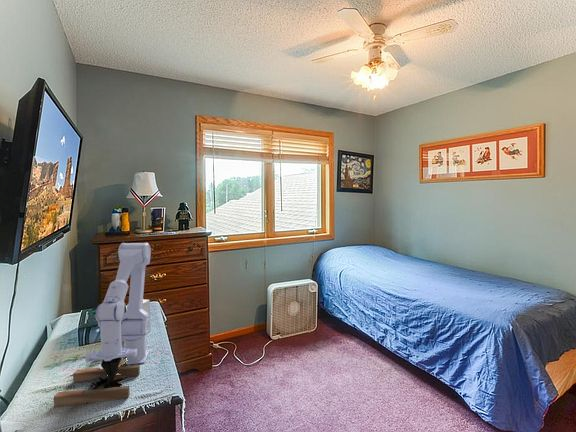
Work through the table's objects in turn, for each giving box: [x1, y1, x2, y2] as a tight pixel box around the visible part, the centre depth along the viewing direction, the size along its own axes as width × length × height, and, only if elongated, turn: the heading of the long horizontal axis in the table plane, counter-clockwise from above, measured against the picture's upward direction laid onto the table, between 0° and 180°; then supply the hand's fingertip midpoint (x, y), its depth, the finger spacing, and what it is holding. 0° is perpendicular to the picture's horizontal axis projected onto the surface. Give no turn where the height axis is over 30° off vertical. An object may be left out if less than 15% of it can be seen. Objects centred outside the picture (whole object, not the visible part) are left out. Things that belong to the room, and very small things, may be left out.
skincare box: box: [126, 298, 152, 332], centre depth 137 cm, size 8×6×15 cm
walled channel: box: [53, 364, 141, 408], centre depth 98 cm, size 14×20×3 cm
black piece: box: [84, 374, 123, 405], centre depth 98 cm, size 12×7×5 cm, turn 148°
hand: (112, 380), depth 99 cm, fingers closed
